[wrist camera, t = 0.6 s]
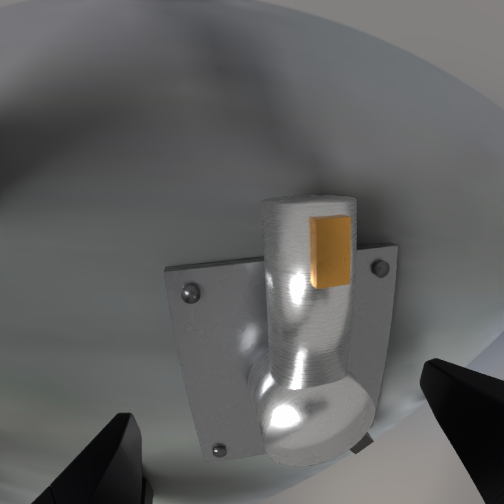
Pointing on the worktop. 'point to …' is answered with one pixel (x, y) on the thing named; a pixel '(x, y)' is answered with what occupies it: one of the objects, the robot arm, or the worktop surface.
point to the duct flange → (261, 341)
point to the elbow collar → (309, 332)
